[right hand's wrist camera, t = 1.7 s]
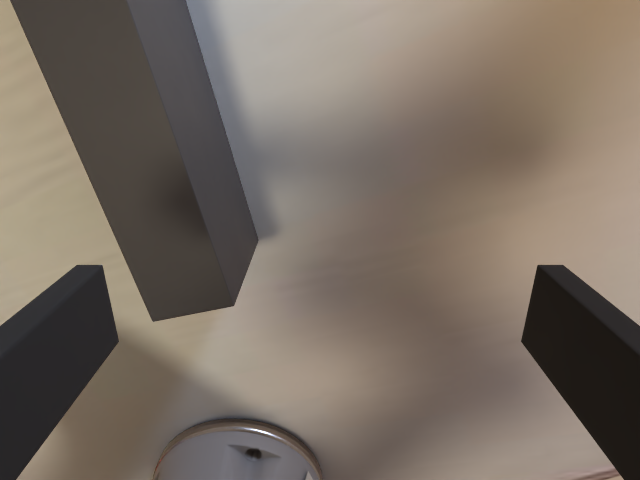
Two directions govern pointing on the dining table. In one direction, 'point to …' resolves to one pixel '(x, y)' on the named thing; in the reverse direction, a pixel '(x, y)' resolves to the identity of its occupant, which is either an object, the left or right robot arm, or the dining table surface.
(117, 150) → the bar
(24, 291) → the dining table surface
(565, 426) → the dining table surface
